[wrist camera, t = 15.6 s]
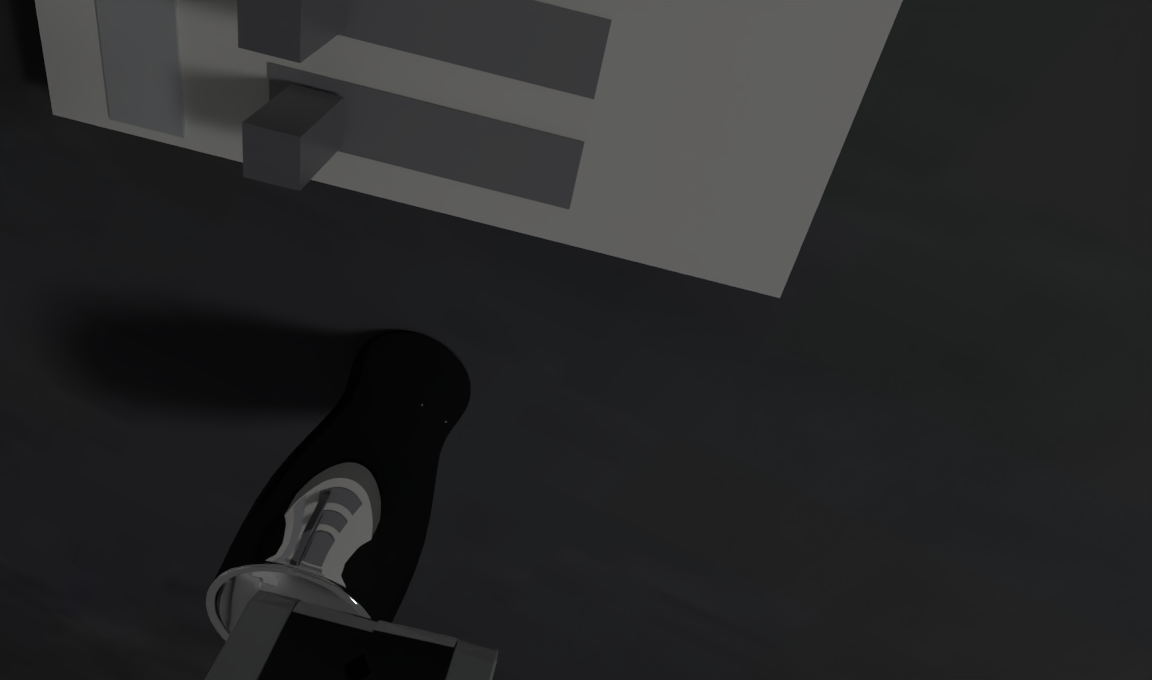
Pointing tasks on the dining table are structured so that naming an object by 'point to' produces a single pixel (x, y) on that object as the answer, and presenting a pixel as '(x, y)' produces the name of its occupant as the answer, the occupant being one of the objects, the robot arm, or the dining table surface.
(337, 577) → the beer glass
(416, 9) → the breaker panel
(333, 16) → the breaker handle
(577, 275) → the dining table surface
